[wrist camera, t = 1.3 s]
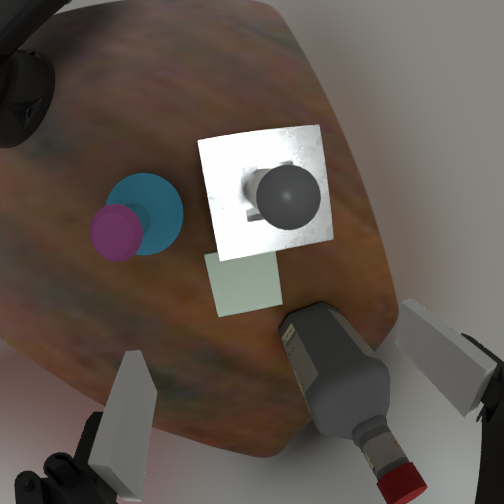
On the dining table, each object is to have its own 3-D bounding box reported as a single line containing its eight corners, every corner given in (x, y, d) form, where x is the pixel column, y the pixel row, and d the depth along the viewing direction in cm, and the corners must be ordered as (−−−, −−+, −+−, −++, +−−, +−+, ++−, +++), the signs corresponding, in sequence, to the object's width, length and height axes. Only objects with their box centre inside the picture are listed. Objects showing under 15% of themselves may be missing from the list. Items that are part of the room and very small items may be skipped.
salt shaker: (238, 170, 33) (251, 169, 21) (281, 164, 33) (316, 161, 22) (245, 213, 34) (262, 235, 23) (288, 206, 35) (324, 224, 23)
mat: (204, 253, 37) (204, 255, 37) (273, 240, 38) (273, 241, 37) (218, 315, 40) (218, 317, 39) (281, 302, 40) (282, 304, 40)
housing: (200, 145, 33) (197, 140, 28) (302, 131, 34) (319, 124, 29) (218, 247, 37) (220, 261, 31) (316, 228, 38) (333, 239, 32)
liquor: (332, 295, 41) (465, 447, 13) (341, 342, 44) (443, 486, 15) (273, 316, 41) (357, 509, 12) (288, 362, 44) (358, 530, 15)
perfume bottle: (189, 173, 34) (172, 174, 20) (185, 246, 37) (170, 294, 22) (118, 172, 33) (62, 176, 18) (117, 243, 35) (68, 286, 21)
